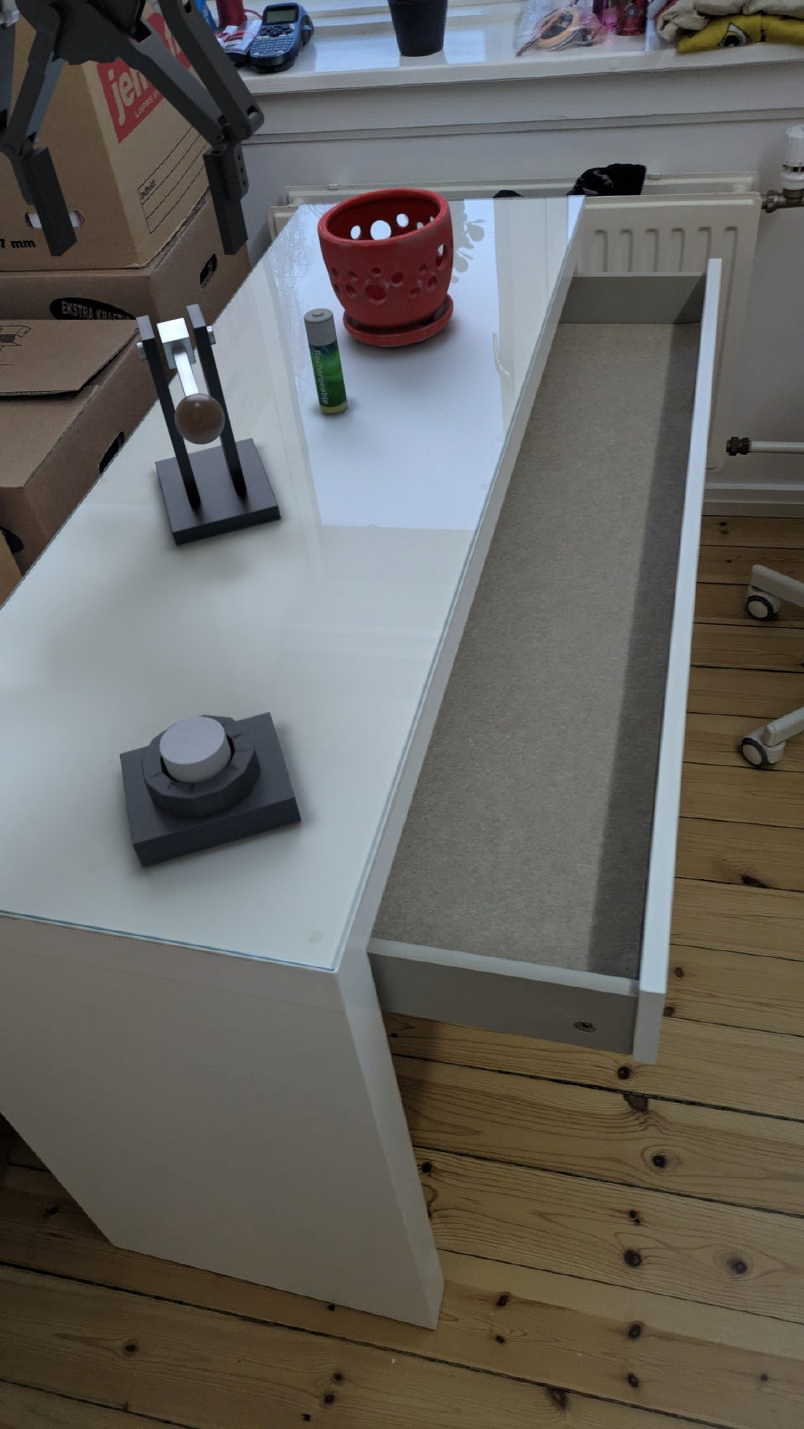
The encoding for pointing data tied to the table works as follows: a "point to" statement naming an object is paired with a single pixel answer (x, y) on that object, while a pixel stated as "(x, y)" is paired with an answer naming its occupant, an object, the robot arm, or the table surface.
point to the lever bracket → (206, 456)
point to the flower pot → (390, 265)
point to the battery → (326, 360)
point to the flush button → (195, 749)
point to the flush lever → (190, 387)
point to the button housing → (208, 794)
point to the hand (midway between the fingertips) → (148, 248)
